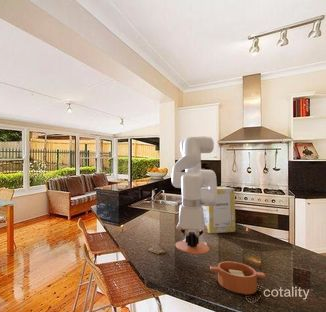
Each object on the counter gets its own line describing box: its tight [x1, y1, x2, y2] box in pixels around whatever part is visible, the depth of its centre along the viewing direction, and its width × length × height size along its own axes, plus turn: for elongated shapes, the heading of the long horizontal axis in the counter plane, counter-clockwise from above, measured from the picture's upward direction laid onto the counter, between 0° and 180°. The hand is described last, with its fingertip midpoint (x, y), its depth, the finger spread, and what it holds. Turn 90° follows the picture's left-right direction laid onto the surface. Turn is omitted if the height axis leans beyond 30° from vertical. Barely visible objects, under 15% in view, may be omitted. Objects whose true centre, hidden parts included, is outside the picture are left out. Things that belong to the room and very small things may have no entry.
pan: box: [209, 260, 267, 295], centre depth 88 cm, size 12×18×6 cm
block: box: [229, 269, 244, 276], centre depth 88 cm, size 4×4×4 cm
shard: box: [148, 243, 166, 255], centre depth 122 cm, size 11×8×2 cm
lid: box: [175, 232, 211, 255], centre depth 100 cm, size 13×13×7 cm
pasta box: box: [202, 186, 236, 234], centre depth 154 cm, size 18×10×28 cm, turn 98°
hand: (192, 244), depth 100 cm, fingers closed on lid, 2 cm apart
